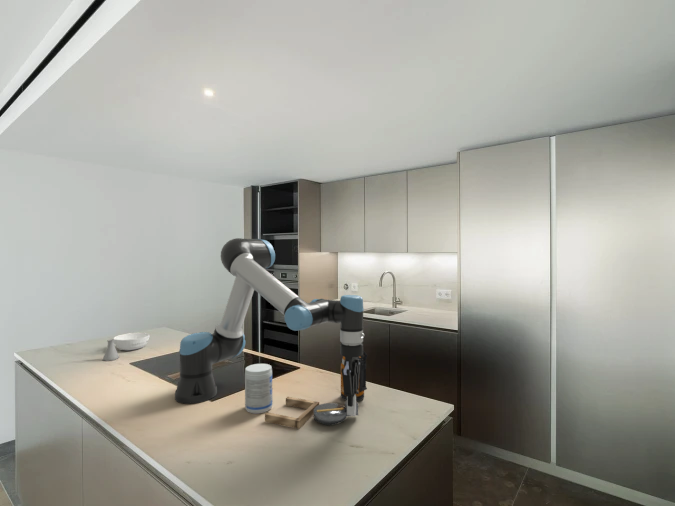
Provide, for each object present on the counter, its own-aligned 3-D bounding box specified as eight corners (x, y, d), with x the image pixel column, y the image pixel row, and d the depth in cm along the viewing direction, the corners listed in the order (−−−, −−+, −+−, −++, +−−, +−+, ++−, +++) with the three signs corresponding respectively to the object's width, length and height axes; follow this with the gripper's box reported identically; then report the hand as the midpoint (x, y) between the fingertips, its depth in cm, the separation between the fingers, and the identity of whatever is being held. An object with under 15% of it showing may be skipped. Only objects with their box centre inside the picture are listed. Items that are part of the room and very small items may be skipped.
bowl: (105, 352, 195) (105, 339, 195) (129, 343, 213) (129, 332, 213) (134, 354, 192) (134, 340, 192) (156, 345, 210) (156, 333, 210)
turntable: (316, 425, 110) (316, 413, 110) (311, 410, 120) (311, 398, 120) (361, 421, 113) (361, 408, 113) (353, 406, 123) (353, 395, 123)
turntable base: (316, 422, 114) (316, 419, 114) (324, 413, 121) (324, 410, 121) (336, 426, 112) (336, 423, 112) (343, 417, 118) (343, 414, 118)
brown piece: (264, 421, 115) (264, 414, 115) (287, 403, 129) (287, 396, 129) (299, 429, 110) (299, 421, 110) (319, 409, 124) (319, 402, 124)
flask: (113, 361, 179) (113, 341, 179) (99, 361, 179) (99, 341, 179) (122, 357, 186) (122, 338, 186) (108, 357, 186) (108, 338, 186)
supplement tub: (276, 410, 123) (276, 368, 123) (250, 417, 118) (250, 373, 118) (266, 400, 131) (266, 361, 131) (241, 406, 126) (241, 366, 126)
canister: (351, 391, 140) (351, 341, 140) (373, 399, 132) (373, 346, 132) (335, 397, 134) (335, 345, 134) (357, 407, 126) (357, 351, 126)
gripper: (356, 348, 108) (355, 425, 107) (368, 339, 120) (368, 408, 119) (333, 346, 110) (333, 421, 110) (347, 337, 122) (347, 404, 122)
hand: (351, 414), depth 115 cm, fingers closed
